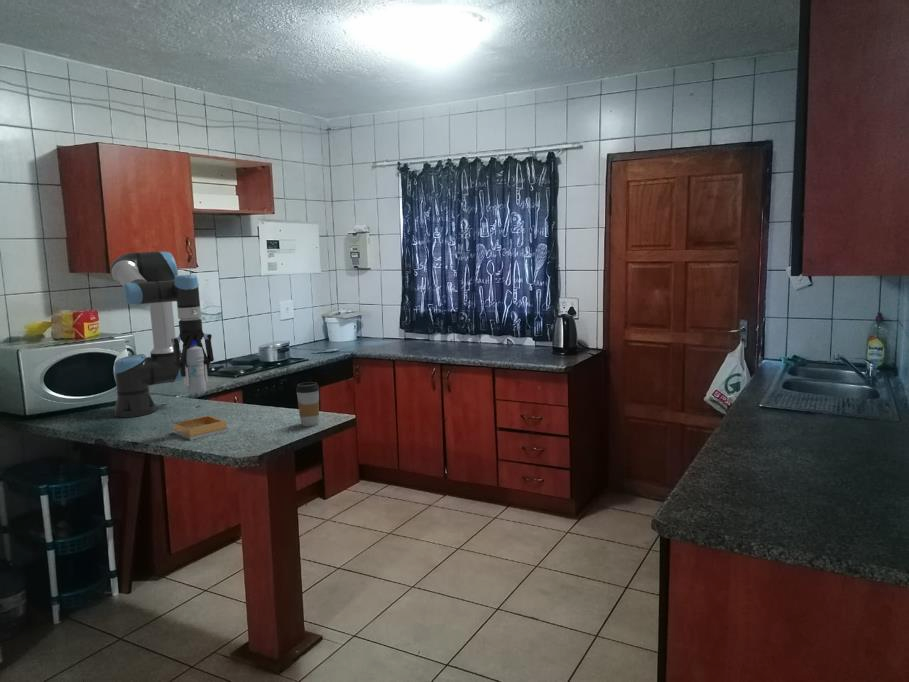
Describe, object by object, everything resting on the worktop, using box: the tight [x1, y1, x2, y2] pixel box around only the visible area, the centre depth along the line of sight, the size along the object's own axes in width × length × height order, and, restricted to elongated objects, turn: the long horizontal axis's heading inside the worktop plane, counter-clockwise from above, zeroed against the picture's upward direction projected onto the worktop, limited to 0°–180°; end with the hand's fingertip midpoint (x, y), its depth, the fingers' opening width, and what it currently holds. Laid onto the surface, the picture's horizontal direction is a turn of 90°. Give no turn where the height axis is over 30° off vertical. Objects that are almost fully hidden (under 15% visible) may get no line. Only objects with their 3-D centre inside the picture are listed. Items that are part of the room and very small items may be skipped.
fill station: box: [172, 415, 230, 441], centre depth 237 cm, size 15×14×4 cm
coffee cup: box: [295, 381, 320, 427], centre depth 241 cm, size 8×8×15 cm
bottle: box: [186, 340, 207, 396], centre depth 233 cm, size 7×7×20 cm
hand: (196, 383), depth 234 cm, fingers closed on bottle, 6 cm apart
